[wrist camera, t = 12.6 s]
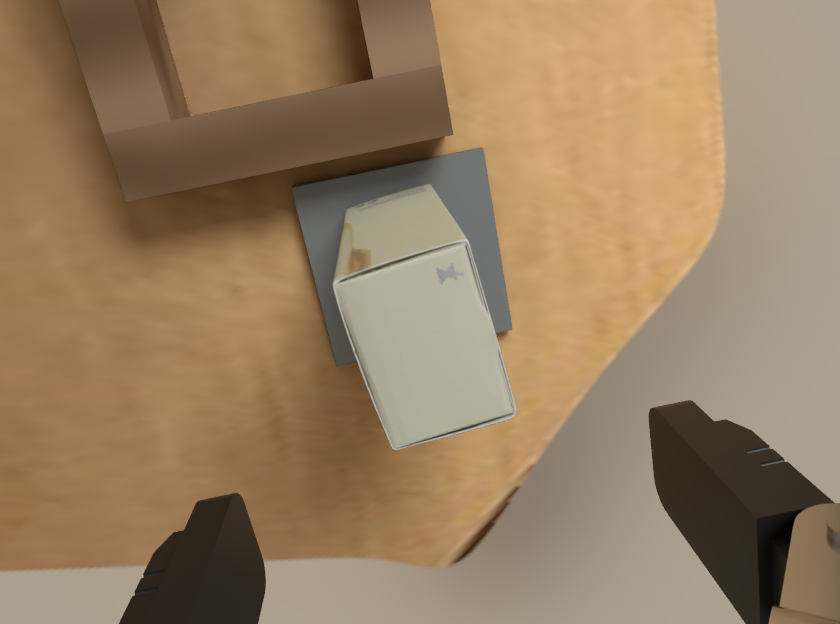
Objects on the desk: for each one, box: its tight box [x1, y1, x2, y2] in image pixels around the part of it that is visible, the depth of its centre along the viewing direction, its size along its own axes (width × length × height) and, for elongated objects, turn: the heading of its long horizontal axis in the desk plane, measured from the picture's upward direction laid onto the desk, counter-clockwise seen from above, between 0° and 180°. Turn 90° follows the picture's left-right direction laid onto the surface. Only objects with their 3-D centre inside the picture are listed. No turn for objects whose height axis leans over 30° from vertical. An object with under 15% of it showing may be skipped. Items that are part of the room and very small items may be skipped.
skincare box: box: [333, 184, 517, 450], centre depth 25 cm, size 6×4×12 cm
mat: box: [291, 148, 512, 366], centre depth 32 cm, size 9×9×1 cm
